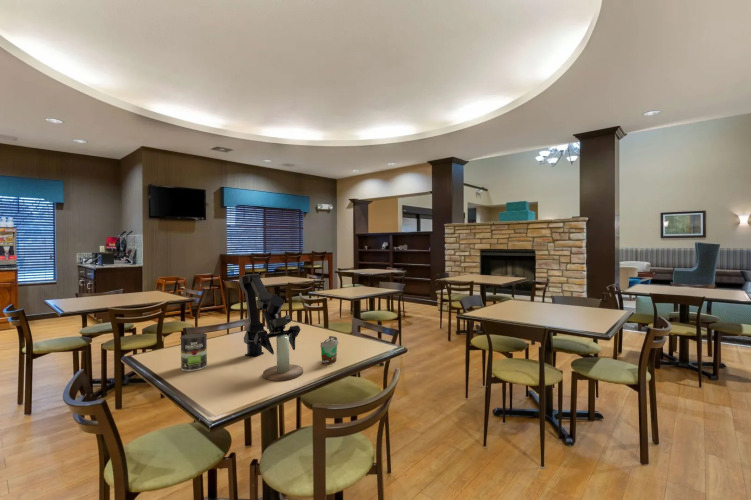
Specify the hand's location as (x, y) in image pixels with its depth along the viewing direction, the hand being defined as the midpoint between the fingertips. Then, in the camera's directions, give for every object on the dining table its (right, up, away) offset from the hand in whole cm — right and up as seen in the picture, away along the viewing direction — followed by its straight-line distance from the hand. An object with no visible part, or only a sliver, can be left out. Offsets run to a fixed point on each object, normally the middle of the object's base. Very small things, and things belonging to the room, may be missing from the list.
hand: (284, 351), depth 147 cm
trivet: (0, -9, +1) cm, 9 cm away
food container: (+18, -9, +16) cm, 26 cm away
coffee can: (-42, -10, +10) cm, 44 cm away
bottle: (-1, -8, +1) cm, 8 cm away
